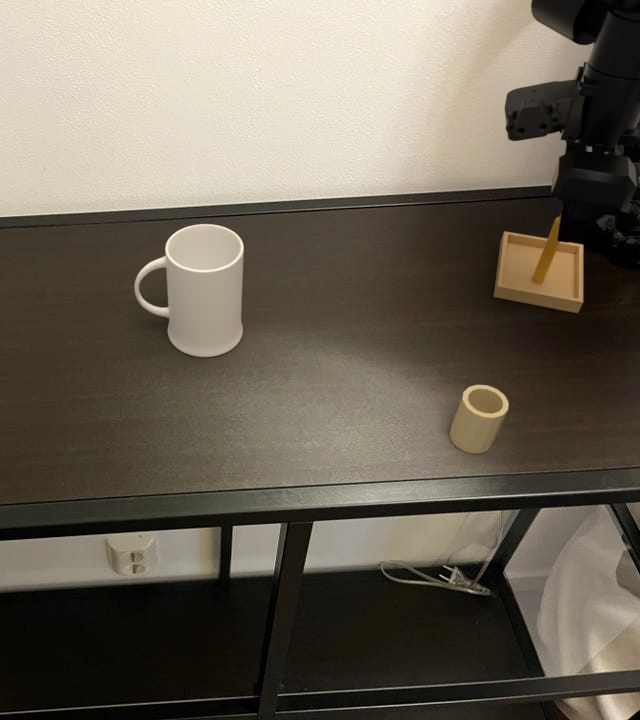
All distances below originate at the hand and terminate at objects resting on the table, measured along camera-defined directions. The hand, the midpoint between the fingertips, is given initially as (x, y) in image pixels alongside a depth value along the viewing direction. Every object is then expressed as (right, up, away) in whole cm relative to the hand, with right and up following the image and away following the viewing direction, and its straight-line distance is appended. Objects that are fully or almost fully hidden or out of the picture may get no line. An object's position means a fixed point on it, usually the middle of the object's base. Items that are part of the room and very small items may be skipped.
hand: (564, 215), depth 76 cm
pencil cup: (-11, -22, -3) cm, 25 cm away
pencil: (+3, -5, +11) cm, 13 cm away
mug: (-38, -12, +9) cm, 41 cm away
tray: (+4, -5, +13) cm, 14 cm away
